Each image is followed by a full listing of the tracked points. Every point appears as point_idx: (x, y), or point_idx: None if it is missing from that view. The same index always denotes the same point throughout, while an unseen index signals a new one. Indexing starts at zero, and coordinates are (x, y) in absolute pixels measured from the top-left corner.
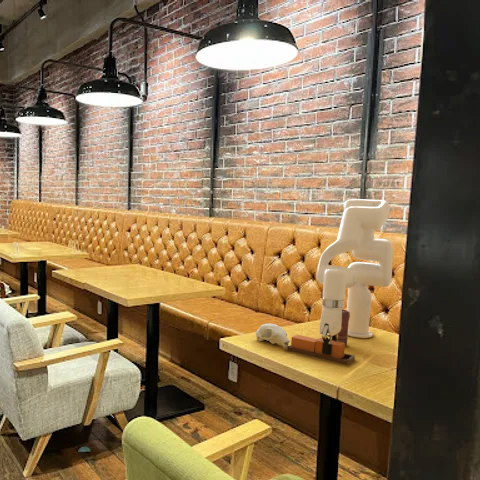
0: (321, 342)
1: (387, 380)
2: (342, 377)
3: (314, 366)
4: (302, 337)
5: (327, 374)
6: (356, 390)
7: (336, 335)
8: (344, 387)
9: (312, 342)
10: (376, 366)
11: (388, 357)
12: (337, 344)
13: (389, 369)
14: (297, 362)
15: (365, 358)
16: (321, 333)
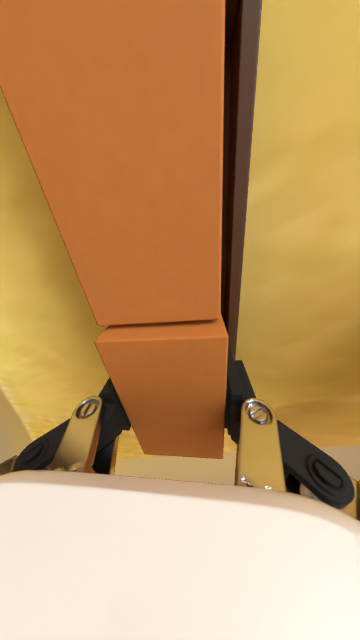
0: (114, 376)
1: (146, 456)
2: (66, 410)
3: (49, 340)
4: (110, 95)
5: (42, 385)
6: (40, 436)
7: (235, 485)
8: (26, 423)
9: (94, 305)
10: (224, 436)
11: (346, 443)
12: (154, 444)
13: (224, 452)
14: (5, 275)
15: (286, 411)
16: (46, 472)
